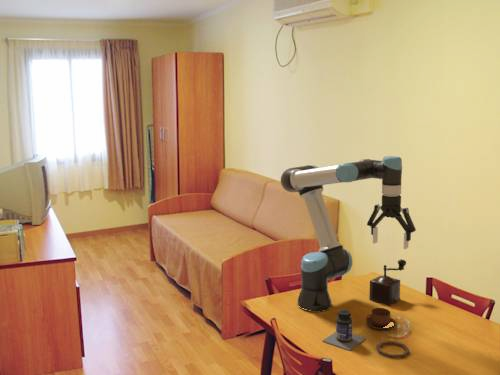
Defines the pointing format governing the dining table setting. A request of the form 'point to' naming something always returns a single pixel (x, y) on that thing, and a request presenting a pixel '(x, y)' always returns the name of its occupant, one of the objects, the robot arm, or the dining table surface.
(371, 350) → the dining table surface
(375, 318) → the cup and saucer
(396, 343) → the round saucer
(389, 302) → the manual coffee grinder
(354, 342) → the mat
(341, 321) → the pill bottle
